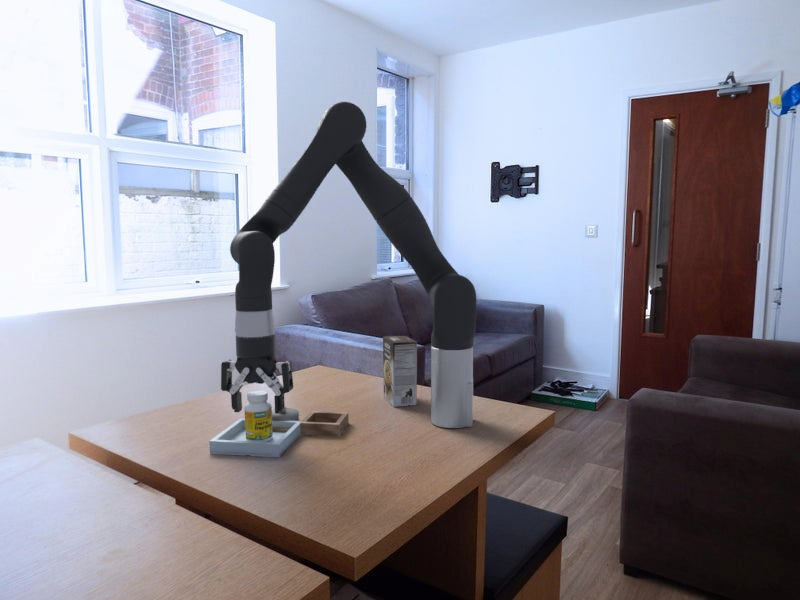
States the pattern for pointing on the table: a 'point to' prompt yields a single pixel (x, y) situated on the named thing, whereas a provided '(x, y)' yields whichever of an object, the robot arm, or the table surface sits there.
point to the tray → (236, 444)
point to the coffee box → (400, 370)
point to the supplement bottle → (258, 417)
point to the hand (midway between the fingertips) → (258, 411)
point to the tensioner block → (314, 421)
